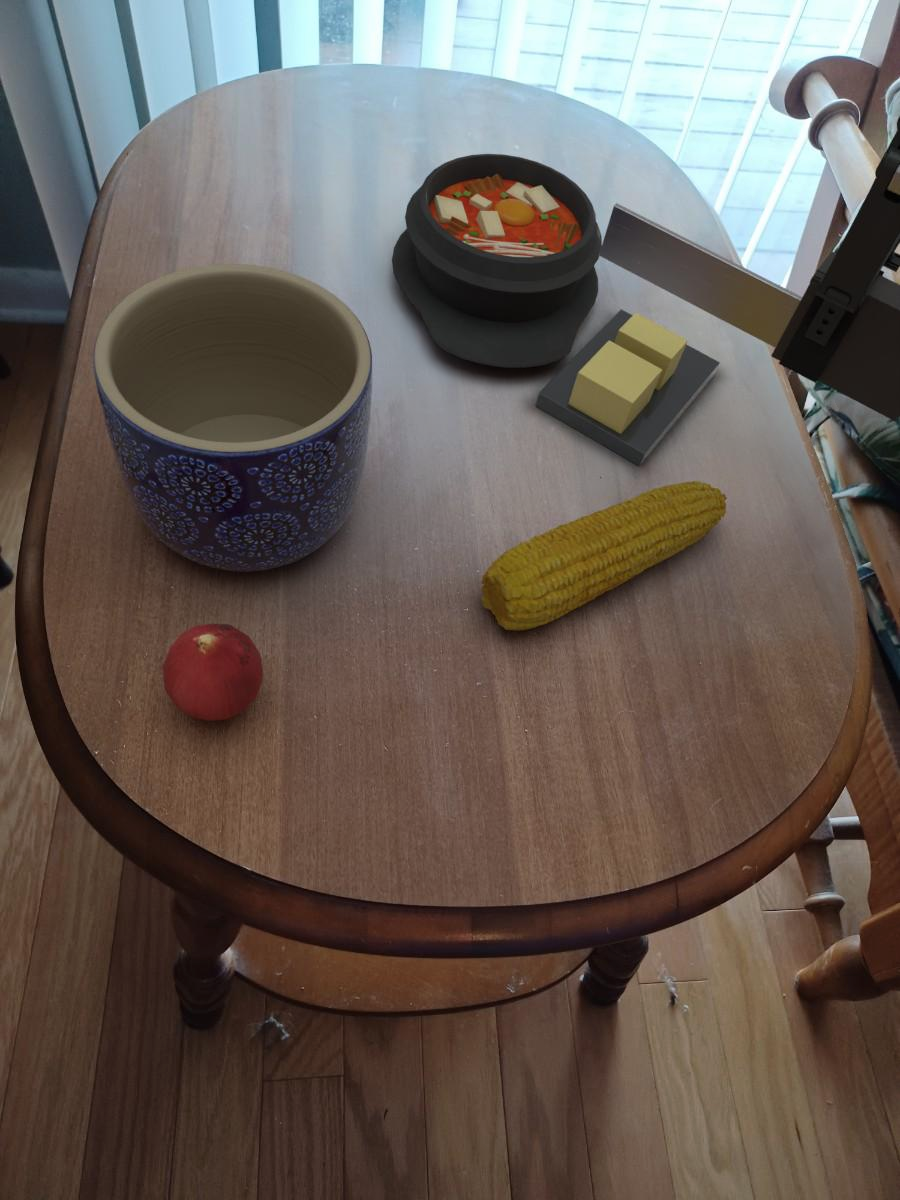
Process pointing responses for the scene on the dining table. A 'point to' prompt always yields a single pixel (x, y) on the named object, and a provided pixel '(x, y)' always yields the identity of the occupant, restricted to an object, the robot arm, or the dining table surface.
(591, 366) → the butter block
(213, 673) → the onion
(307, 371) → the planter
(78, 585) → the dining table surface
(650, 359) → the butter pat
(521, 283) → the casserole
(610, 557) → the food
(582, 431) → the board
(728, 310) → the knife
